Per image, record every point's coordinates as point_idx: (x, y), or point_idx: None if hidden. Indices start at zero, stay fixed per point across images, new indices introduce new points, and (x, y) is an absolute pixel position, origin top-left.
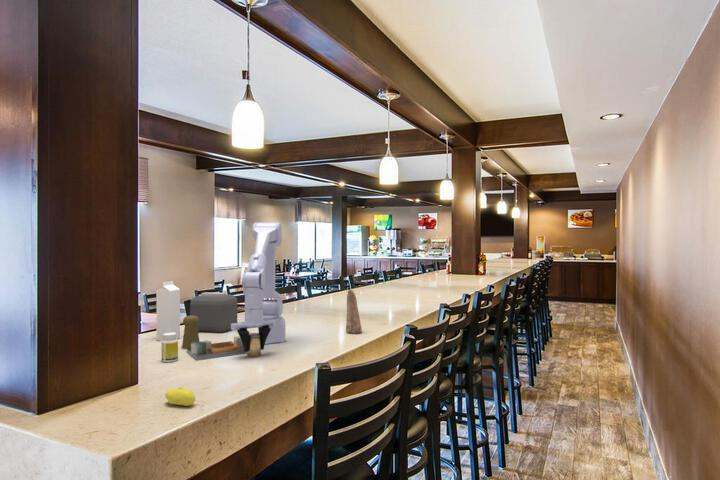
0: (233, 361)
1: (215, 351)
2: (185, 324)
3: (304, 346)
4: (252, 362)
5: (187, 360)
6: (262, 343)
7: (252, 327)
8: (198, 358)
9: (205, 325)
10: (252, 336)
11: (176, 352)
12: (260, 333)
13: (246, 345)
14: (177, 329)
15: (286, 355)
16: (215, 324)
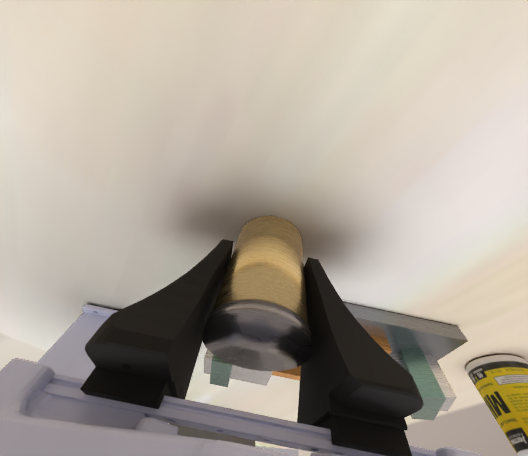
0: (402, 231)
1: (376, 340)
2: None
3: (14, 216)
4: (365, 141)
5: (469, 340)
6: (221, 261)
7: (264, 423)
8: (455, 330)
9: (236, 442)
10: (295, 323)
11: (519, 388)
12: (202, 336)
13: (327, 283)
14: (307, 454)
15: (128, 132)
16: (220, 439)
